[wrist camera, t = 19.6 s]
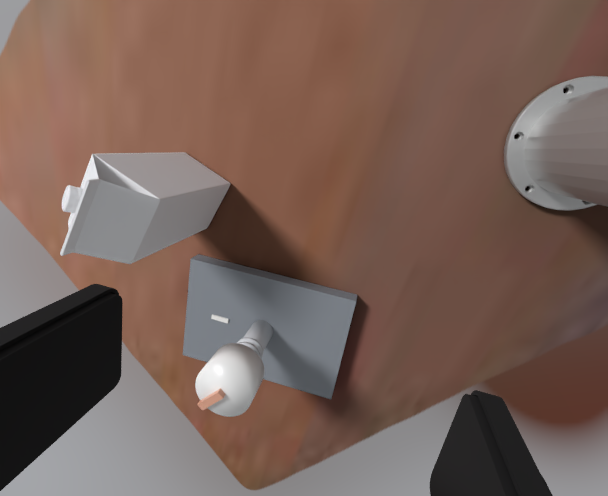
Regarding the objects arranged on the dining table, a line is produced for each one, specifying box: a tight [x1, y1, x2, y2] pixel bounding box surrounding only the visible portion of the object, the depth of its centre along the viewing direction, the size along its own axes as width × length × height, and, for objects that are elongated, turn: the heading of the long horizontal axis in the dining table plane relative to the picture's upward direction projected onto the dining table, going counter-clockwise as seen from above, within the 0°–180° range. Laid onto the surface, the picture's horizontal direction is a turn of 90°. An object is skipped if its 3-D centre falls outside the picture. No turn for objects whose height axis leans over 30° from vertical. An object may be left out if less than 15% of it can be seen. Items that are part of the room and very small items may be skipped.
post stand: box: [183, 254, 357, 399], centre depth 43 cm, size 22×15×10 cm
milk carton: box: [60, 152, 231, 264], centre depth 35 cm, size 7×7×19 cm
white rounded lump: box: [195, 343, 265, 417], centre depth 36 cm, size 6×6×5 cm
